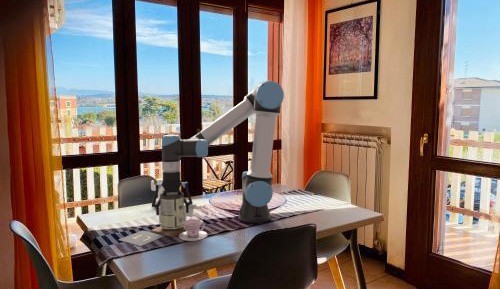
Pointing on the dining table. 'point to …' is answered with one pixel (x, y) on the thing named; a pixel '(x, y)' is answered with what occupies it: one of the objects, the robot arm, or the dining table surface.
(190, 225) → the teacup
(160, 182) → the figurine
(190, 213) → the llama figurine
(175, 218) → the coffee can
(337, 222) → the dining table surface
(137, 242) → the tile
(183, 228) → the walnut board
